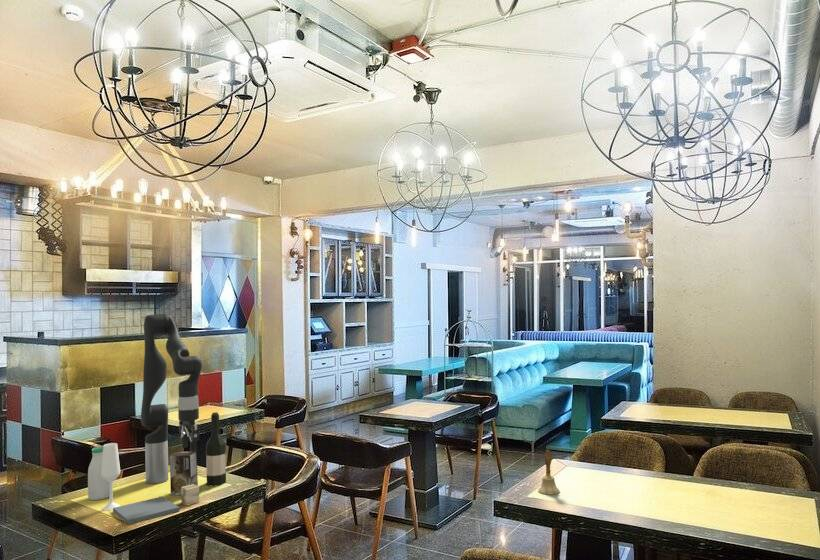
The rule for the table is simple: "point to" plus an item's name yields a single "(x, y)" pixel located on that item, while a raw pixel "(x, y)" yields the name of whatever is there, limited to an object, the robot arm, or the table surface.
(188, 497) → the birch block
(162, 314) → the robot arm
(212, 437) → the wine bottle
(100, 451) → the milk bottle
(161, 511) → the slate board
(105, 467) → the champagne flute
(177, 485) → the coffee box
